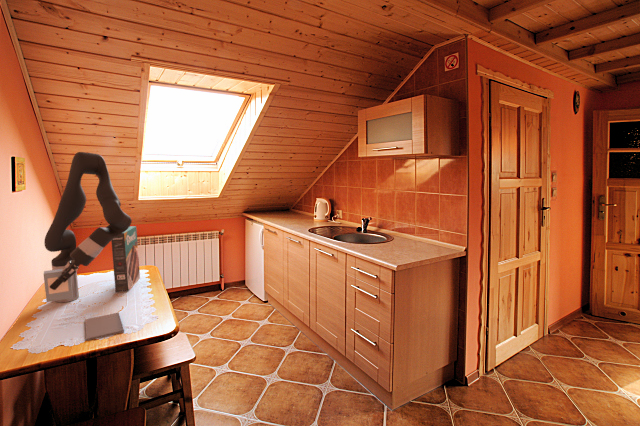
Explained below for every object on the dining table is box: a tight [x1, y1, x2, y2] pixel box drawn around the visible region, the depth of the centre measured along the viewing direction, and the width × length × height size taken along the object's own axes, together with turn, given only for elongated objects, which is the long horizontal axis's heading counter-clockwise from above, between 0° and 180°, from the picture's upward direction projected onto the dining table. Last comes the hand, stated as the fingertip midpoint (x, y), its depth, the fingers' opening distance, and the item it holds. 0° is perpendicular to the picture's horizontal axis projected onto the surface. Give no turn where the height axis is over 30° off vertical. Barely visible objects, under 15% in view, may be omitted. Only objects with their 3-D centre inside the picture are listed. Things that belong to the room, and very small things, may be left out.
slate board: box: [84, 312, 125, 342], centre depth 140 cm, size 20×12×1 cm, turn 35°
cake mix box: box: [110, 225, 141, 293], centre depth 188 cm, size 22×6×30 cm, turn 13°
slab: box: [43, 269, 73, 303], centre depth 135 cm, size 8×4×11 cm, turn 124°
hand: (52, 286), depth 134 cm, fingers closed on slab, 4 cm apart
